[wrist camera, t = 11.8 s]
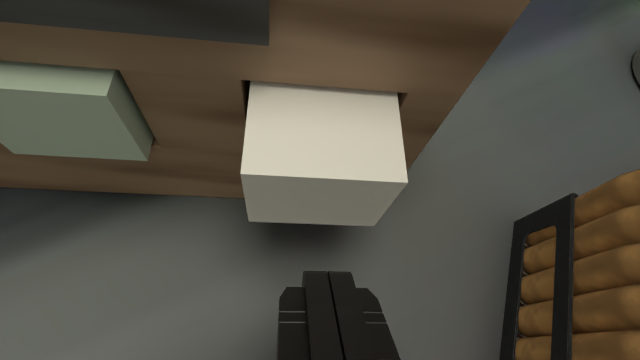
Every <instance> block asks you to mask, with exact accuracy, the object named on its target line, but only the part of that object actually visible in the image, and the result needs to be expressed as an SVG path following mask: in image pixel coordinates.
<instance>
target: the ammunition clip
mask: <svg viewBox="0 0 640 360" xmlns="http://www.w3.org/2000/svg"><path fill="white" fill-rule="evenodd" d="M576 197H577V198H576ZM500 360H640V169H639V170H635V171H632V172H628V173H625V174H622V175H620V176H618V177H616V178H614V179H612V180H610V181H608V182H606V183H604V184H602V185H600V186H598V187H596V188H594V189H593V190H591V191H589V192H587V193H585V194H583V195H581V196H579V197H578V194H575V193H571V194H569V195H567V196H565V197H563V198H561V199H559V200H557V201H555V202H553V203H551V204H549V205H547V206H545V207H543V208H541V209H539V210H537V211H535V212H533V213H531V214H529V215H527V216H525V217H523V218H521V219H519V220H517V221H515V222H514V229H513V238H512V247H511V257H510V266H509V275H508V285H507V294H506V303H505V313H504V322H503V332H502V341H501V350H500Z"/></svg>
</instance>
